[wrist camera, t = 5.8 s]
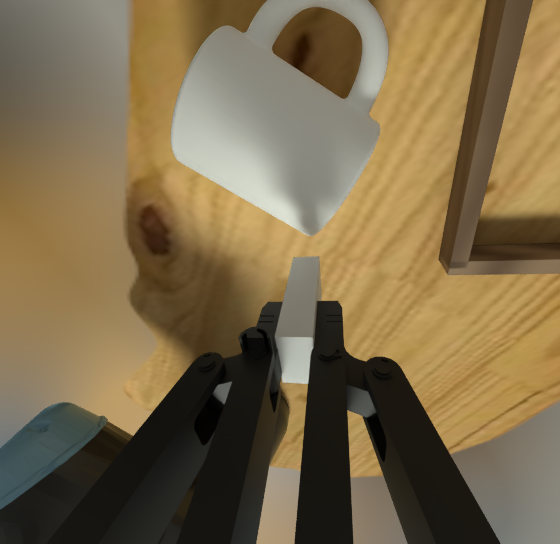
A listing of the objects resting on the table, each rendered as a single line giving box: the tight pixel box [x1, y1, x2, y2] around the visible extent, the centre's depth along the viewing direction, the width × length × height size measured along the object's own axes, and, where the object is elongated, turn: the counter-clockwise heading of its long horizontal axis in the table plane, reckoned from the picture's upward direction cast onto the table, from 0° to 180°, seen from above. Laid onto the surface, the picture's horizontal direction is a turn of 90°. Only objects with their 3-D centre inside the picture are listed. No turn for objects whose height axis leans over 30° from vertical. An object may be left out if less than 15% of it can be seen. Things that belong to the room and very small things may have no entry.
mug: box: [171, 0, 389, 236], centre depth 17 cm, size 12×10×8 cm
